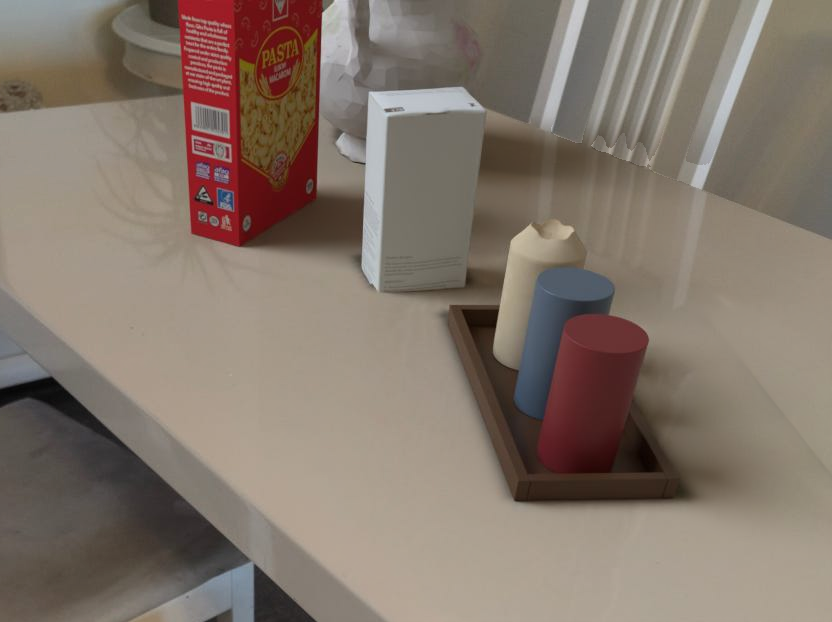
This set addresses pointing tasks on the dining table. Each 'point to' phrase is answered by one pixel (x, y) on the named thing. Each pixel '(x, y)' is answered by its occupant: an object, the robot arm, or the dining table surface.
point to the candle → (531, 281)
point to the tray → (519, 433)
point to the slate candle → (555, 328)
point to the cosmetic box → (420, 187)
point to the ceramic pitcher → (390, 58)
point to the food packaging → (250, 112)
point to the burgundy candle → (591, 393)
